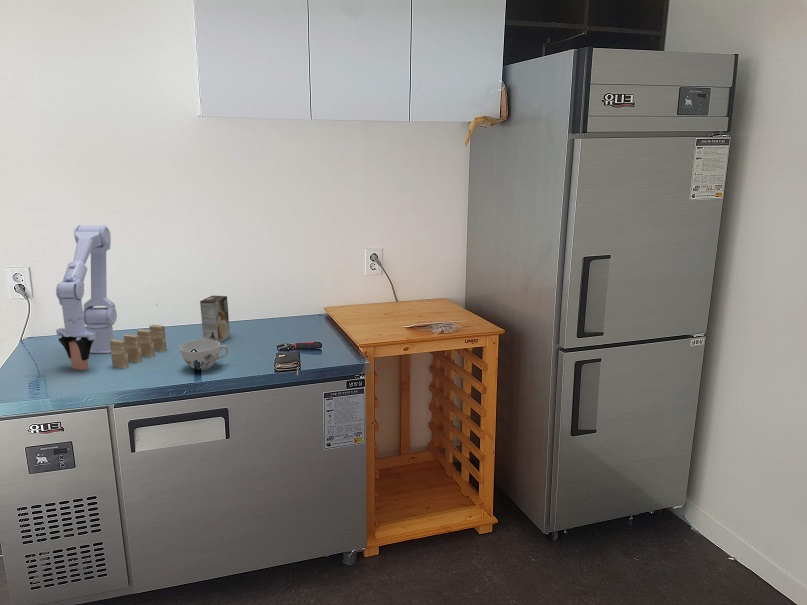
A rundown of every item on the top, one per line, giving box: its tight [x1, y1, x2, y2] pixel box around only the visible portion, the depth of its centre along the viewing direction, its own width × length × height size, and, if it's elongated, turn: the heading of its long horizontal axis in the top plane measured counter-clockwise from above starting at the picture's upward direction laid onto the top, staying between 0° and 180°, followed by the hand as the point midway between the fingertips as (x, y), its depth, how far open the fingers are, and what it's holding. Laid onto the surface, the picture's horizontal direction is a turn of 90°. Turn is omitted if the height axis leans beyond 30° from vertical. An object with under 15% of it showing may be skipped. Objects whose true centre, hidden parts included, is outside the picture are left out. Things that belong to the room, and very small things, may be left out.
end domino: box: [69, 340, 89, 371], centre depth 201 cm, size 2×5×9 cm, turn 69°
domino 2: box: [123, 333, 143, 364], centre depth 209 cm, size 2×5×9 cm, turn 69°
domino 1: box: [110, 338, 130, 370], centre depth 203 cm, size 2×5×9 cm, turn 70°
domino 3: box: [136, 328, 156, 358], centre depth 214 cm, size 2×5×9 cm, turn 70°
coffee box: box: [199, 295, 231, 344], centre depth 231 cm, size 9×6×16 cm
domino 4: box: [149, 324, 168, 353], centre depth 219 cm, size 2×5×9 cm, turn 70°
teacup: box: [179, 338, 229, 371], centre depth 203 cm, size 15×12×8 cm
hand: (79, 358), depth 202 cm, fingers closed on end domino, 5 cm apart
